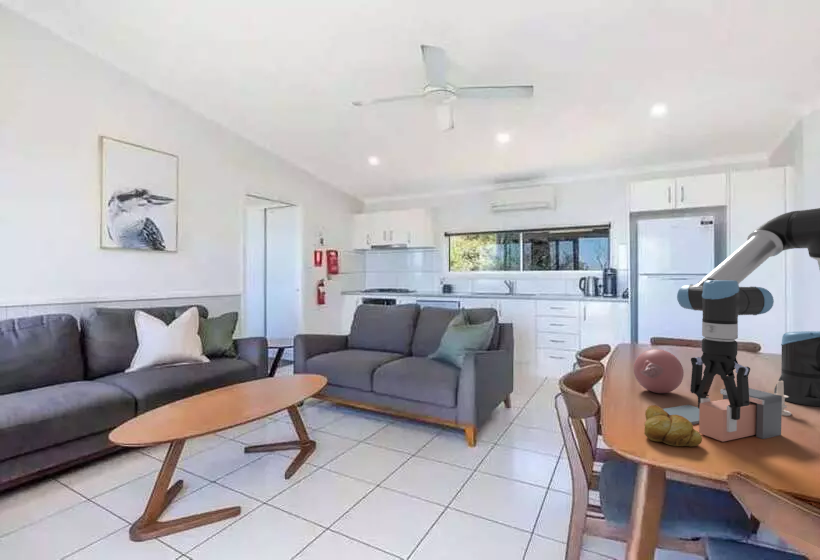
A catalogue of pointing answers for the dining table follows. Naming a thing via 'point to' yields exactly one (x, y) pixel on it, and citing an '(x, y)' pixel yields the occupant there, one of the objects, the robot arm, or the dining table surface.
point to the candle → (781, 392)
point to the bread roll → (670, 428)
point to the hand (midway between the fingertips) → (717, 426)
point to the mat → (685, 412)
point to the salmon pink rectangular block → (725, 420)
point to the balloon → (658, 371)
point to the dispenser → (765, 412)
